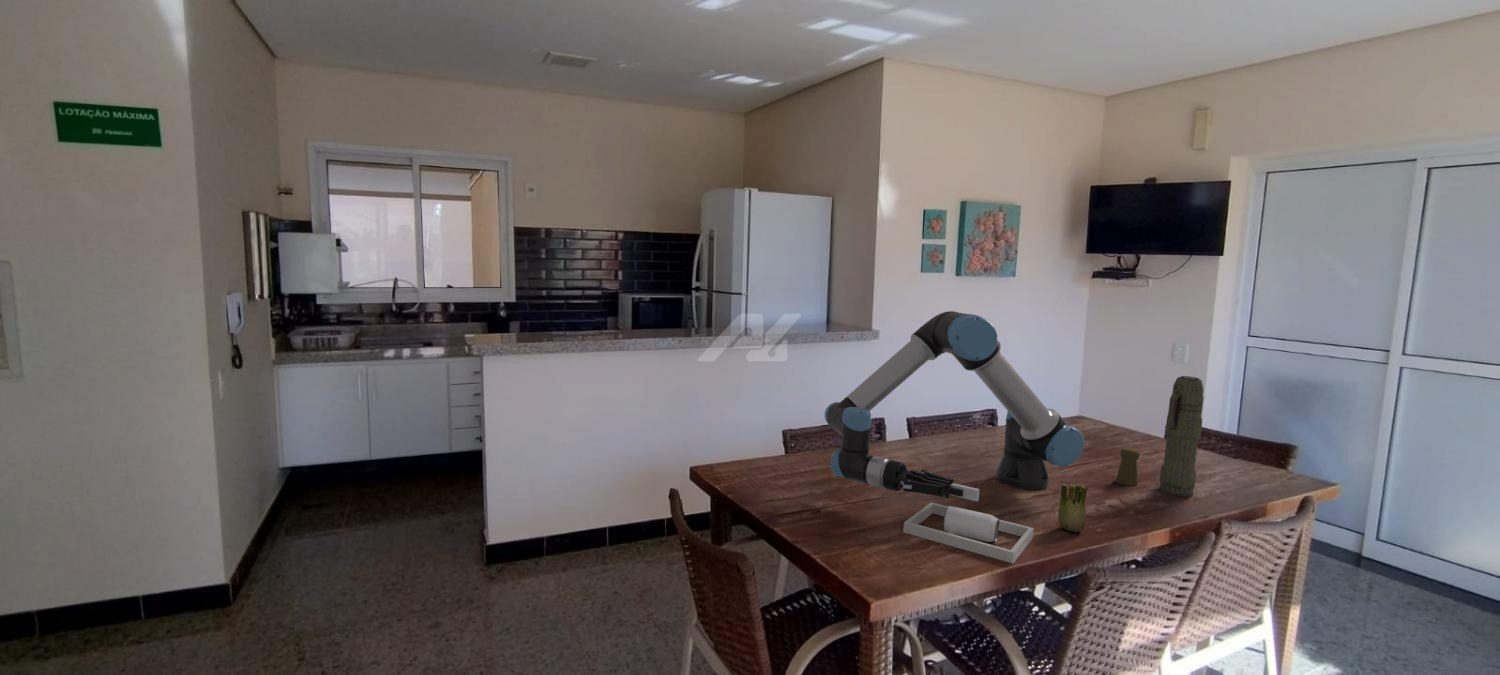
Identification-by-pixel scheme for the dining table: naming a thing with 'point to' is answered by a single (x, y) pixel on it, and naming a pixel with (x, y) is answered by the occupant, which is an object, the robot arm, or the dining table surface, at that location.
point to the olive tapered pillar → (1128, 467)
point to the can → (971, 524)
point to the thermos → (1182, 437)
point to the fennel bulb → (1072, 508)
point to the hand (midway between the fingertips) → (977, 495)
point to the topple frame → (965, 543)
